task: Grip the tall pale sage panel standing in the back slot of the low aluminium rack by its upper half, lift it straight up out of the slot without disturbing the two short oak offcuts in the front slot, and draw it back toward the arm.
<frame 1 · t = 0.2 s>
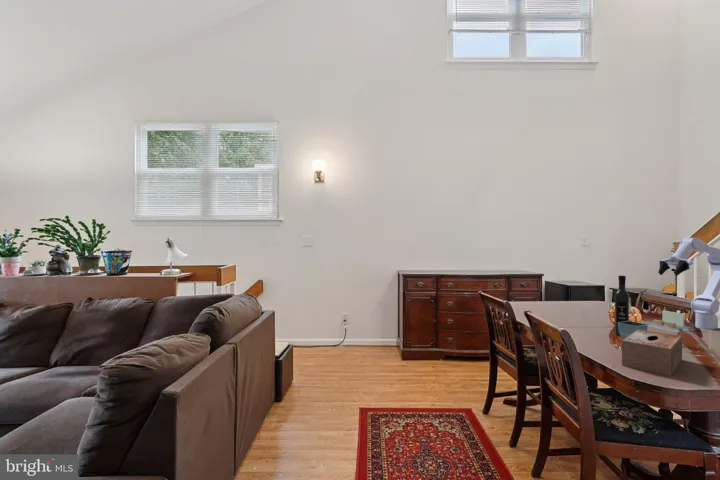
hand: (667, 273, 188), 31 cm above the table, tool tilted 45°, fingers open, 7 cm apart
oak offcut b: (669, 329, 193), point 1 cm above the table, touching slot rack
oak offcut a: (658, 326, 198), point 1 cm above the table, touching slot rack
sage panel: (673, 327, 197), point 1 cm above the table, touching slot rack
flower pot: (632, 342, 173), on the table
wine bottle: (621, 335, 186), on the table
slot rack: (668, 329, 196), on the table
tissue box cover: (652, 363, 145), on the table
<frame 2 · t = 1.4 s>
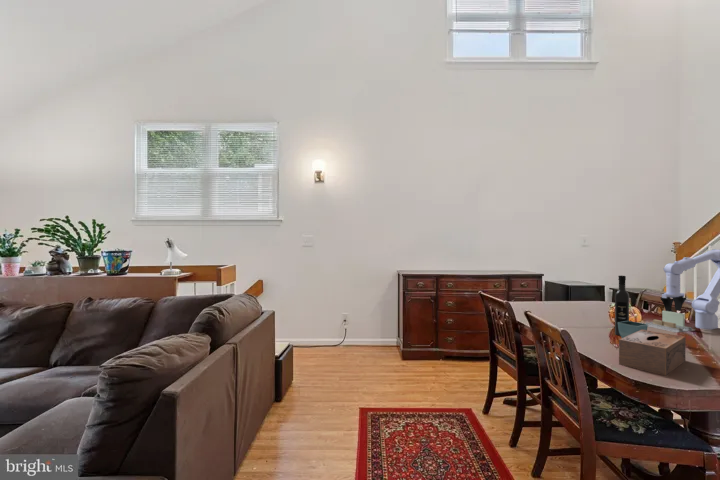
hand: (673, 310, 197), 10 cm above the table, tool pointing down, fingers open, 7 cm apart
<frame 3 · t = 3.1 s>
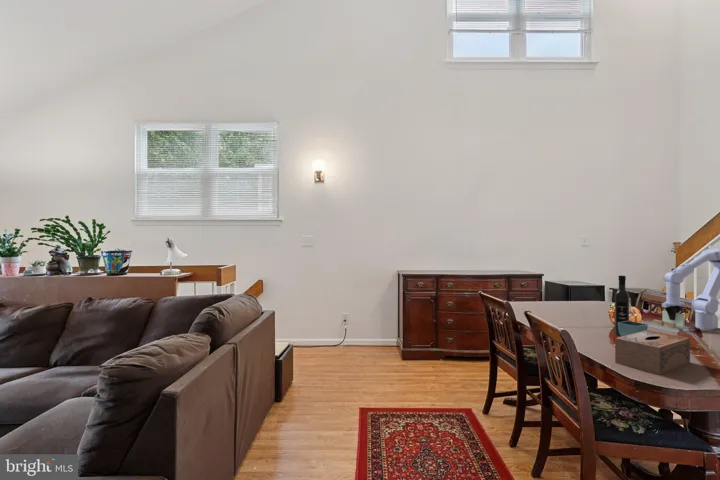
hand: (673, 319, 197), 5 cm above the table, tool pointing down, fingers closed on sage panel, 1 cm apart
sage panel: (673, 327, 197), point 1 cm above the table, touching gripper, slot rack
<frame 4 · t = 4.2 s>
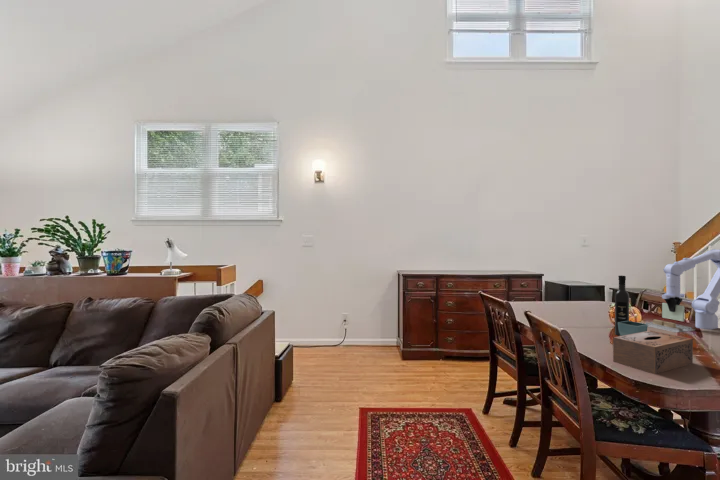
hand: (673, 311, 197), 9 cm above the table, tool pointing down, fingers closed on sage panel
sage panel: (673, 319, 198), point 5 cm above the table, touching gripper
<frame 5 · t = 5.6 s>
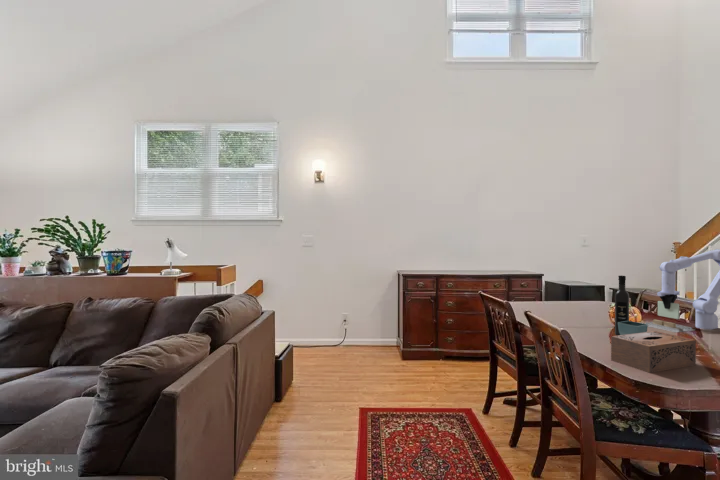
hand: (668, 308, 201), 10 cm above the table, tool pointing down, fingers closed on sage panel
sage panel: (668, 317, 201), point 6 cm above the table, touching gripper
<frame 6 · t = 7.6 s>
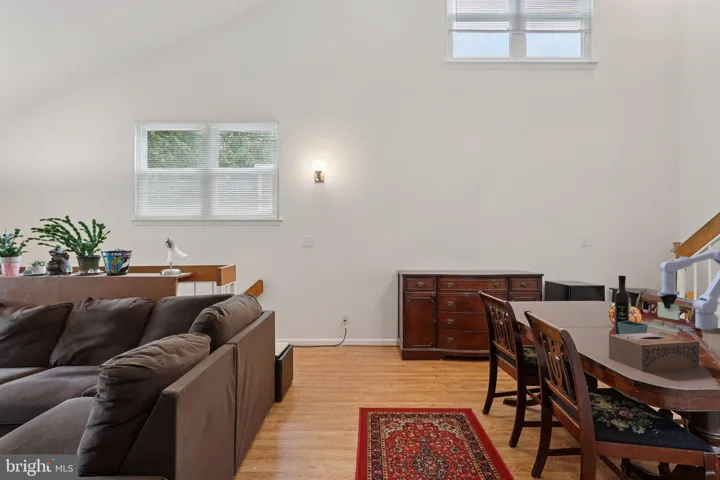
hand: (668, 308, 201), 10 cm above the table, tool pointing down, fingers closed on sage panel
sage panel: (668, 318, 201), point 5 cm above the table, touching gripper
at the end: sage panel point 5.1 cm above the table; the gripper is holding sage panel; oak offcut a moved 0.0 cm from its start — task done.
